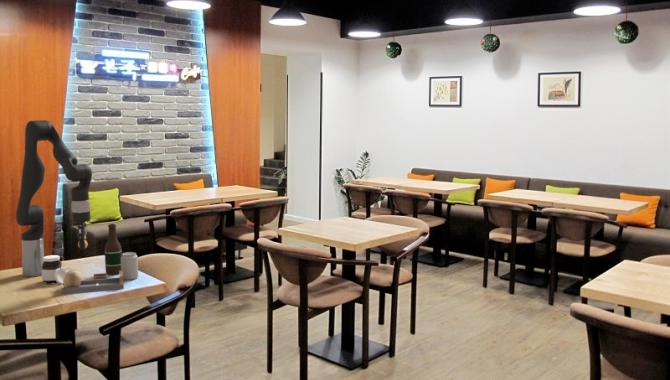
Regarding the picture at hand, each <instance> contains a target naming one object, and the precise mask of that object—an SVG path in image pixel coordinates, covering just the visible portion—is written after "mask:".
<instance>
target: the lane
mask: <svg viewBox="0 0 670 380" xmlns="http://www.w3.org/2000/svg"><path fill="white" fill-rule="evenodd" d="M118 289H119V290H121V289H120V279H119V277H111V278H110V277H109V278H108V277H107V279H95V280H93V279H83V280H81V284H80V287H70V288H65V287H64V286H63V287H62V288H61V294H62V295H64V294H75V293H85V292H96V291H97V292H98V291H109V290H118ZM63 293H64V294H63Z"/></svg>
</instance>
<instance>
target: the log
mask: <svg viewBox="0 0 670 380" xmlns="http://www.w3.org/2000/svg"><path fill="white" fill-rule="evenodd" d="M81 281H82V274H81V272H80V271H78V270H75V269H71V270H69V271H67V273H66V275H65V278H64V281H63V284H62V285H63V288H64V287H65V288H70V287H80V284H81Z"/></svg>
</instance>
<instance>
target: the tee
mask: <svg viewBox="0 0 670 380" xmlns="http://www.w3.org/2000/svg"><path fill="white" fill-rule="evenodd" d="M95 279H108V275H107V273H106V272H104V273H103V272H102V273H93V277H92V280H95Z"/></svg>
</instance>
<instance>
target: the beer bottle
mask: <svg viewBox="0 0 670 380" xmlns="http://www.w3.org/2000/svg"><path fill="white" fill-rule="evenodd" d="M116 227H117V225H116V224H115V223H110V224H108V225H107V228H108V238H107V242H106V244H105V245H104V263H105V265H104V267H105V273H107V276H117V275H118V276H119V270H121V256H122V254H123V251H122V245H121V243H120V242H119V240H118V237H117V236H118V235H117V228H116Z"/></svg>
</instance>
